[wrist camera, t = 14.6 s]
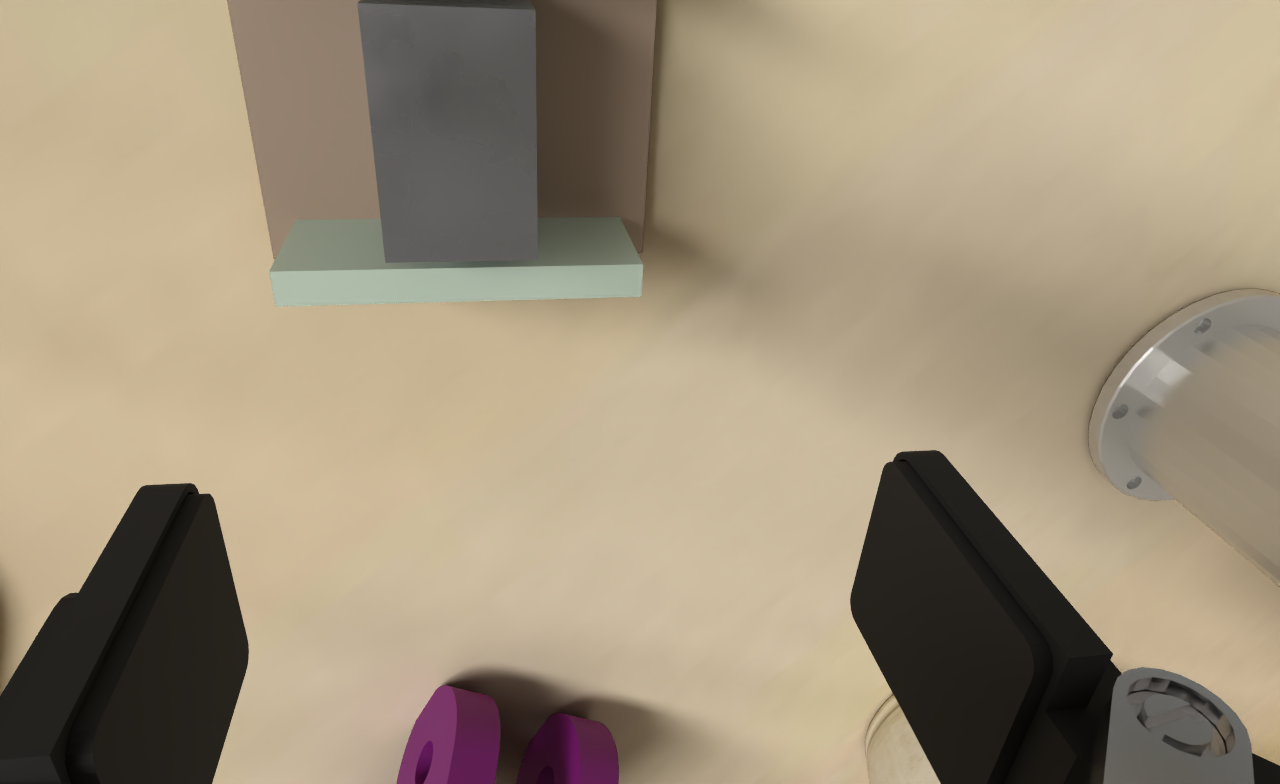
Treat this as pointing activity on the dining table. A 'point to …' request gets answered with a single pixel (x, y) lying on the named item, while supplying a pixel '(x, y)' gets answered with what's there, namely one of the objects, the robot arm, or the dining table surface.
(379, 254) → the post slot
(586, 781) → the mounting bracket
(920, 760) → the jug
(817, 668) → the dining table surface
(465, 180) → the tall grey upright block
